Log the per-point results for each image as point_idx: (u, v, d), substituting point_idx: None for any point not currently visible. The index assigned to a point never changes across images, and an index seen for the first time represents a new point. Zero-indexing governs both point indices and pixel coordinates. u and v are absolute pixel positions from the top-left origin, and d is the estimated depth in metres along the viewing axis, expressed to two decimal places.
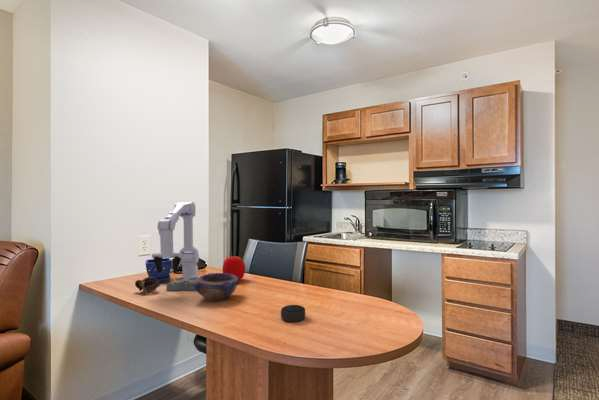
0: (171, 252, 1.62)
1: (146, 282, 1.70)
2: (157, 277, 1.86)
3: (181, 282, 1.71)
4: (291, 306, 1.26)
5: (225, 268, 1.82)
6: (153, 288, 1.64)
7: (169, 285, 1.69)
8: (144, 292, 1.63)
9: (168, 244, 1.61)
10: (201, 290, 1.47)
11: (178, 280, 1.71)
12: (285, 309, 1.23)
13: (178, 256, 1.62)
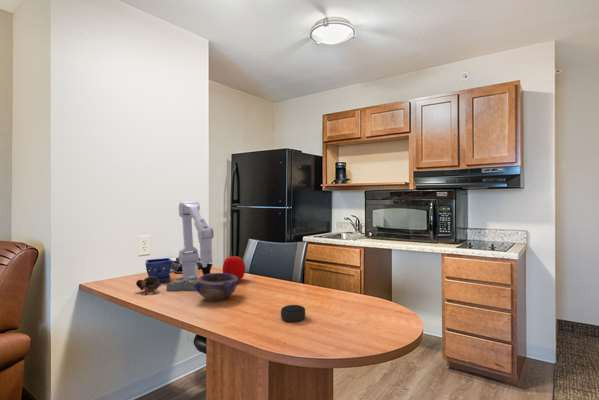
0: (203, 260, 1.69)
1: (147, 282, 1.71)
2: (157, 277, 1.86)
3: (181, 282, 1.71)
4: (291, 306, 1.26)
5: (225, 268, 1.82)
6: (154, 288, 1.65)
7: (169, 285, 1.69)
8: (145, 292, 1.64)
9: (211, 251, 1.71)
10: (201, 290, 1.47)
11: (178, 280, 1.71)
12: (285, 309, 1.23)
13: None
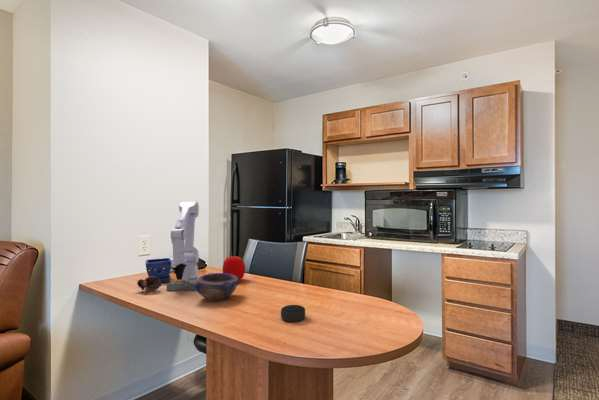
0: (175, 260, 1.70)
1: (148, 281, 1.71)
2: None
3: None
4: (291, 306, 1.26)
5: (225, 268, 1.82)
6: (155, 287, 1.66)
7: (169, 285, 1.69)
8: (146, 291, 1.64)
9: (181, 252, 1.71)
10: (201, 290, 1.47)
11: (178, 283, 1.71)
12: (285, 309, 1.23)
13: None
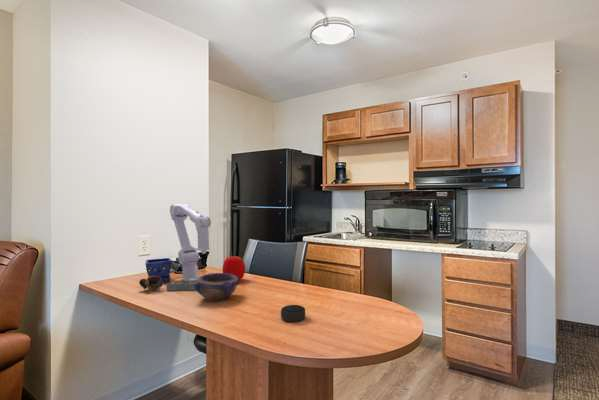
0: (201, 247, 1.77)
1: (150, 281, 1.73)
2: None
3: None
4: (291, 306, 1.26)
5: (225, 268, 1.82)
6: (158, 286, 1.67)
7: (169, 285, 1.69)
8: (149, 290, 1.65)
9: (208, 239, 1.80)
10: (201, 290, 1.47)
11: (178, 283, 1.71)
12: (285, 309, 1.23)
13: None
